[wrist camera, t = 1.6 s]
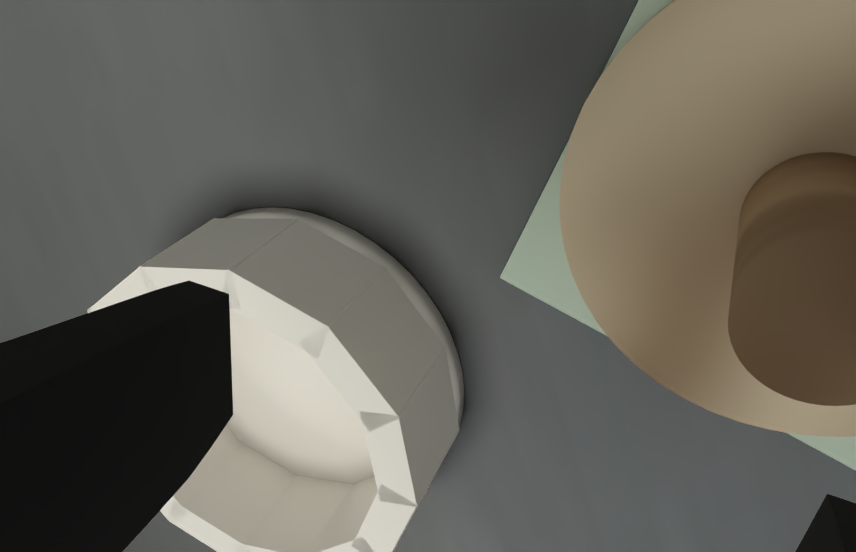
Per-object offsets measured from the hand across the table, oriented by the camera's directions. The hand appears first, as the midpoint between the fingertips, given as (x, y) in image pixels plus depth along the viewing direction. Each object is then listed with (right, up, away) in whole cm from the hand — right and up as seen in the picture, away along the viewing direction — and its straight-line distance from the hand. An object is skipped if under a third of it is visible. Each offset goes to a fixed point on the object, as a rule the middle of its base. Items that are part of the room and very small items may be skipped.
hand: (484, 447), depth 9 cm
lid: (+7, +3, +6) cm, 10 cm away
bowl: (-4, 0, +14) cm, 15 cm away
